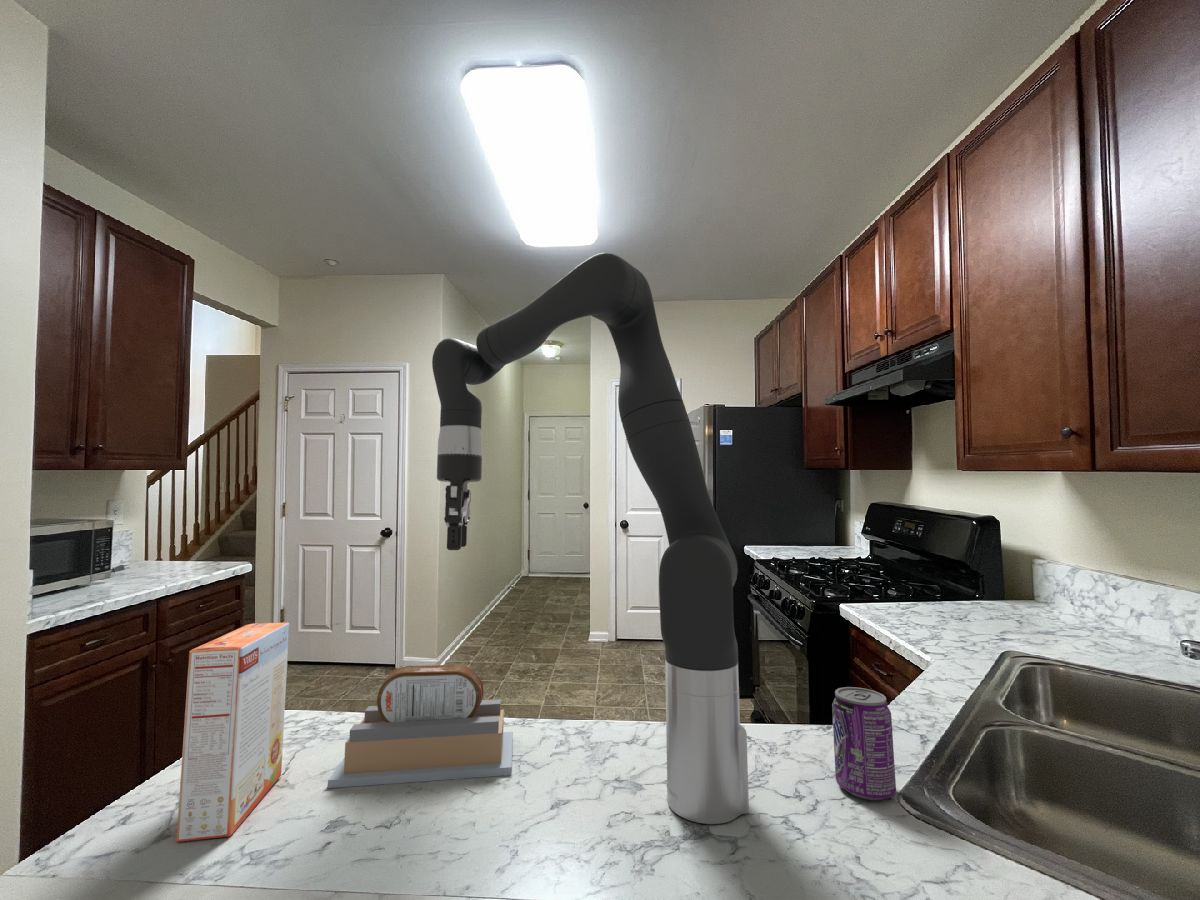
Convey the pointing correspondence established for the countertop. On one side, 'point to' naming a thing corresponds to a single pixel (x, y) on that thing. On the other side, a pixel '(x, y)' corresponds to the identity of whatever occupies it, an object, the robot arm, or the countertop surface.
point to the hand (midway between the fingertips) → (457, 548)
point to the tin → (430, 693)
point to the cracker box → (232, 728)
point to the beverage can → (863, 743)
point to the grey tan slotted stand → (425, 749)
